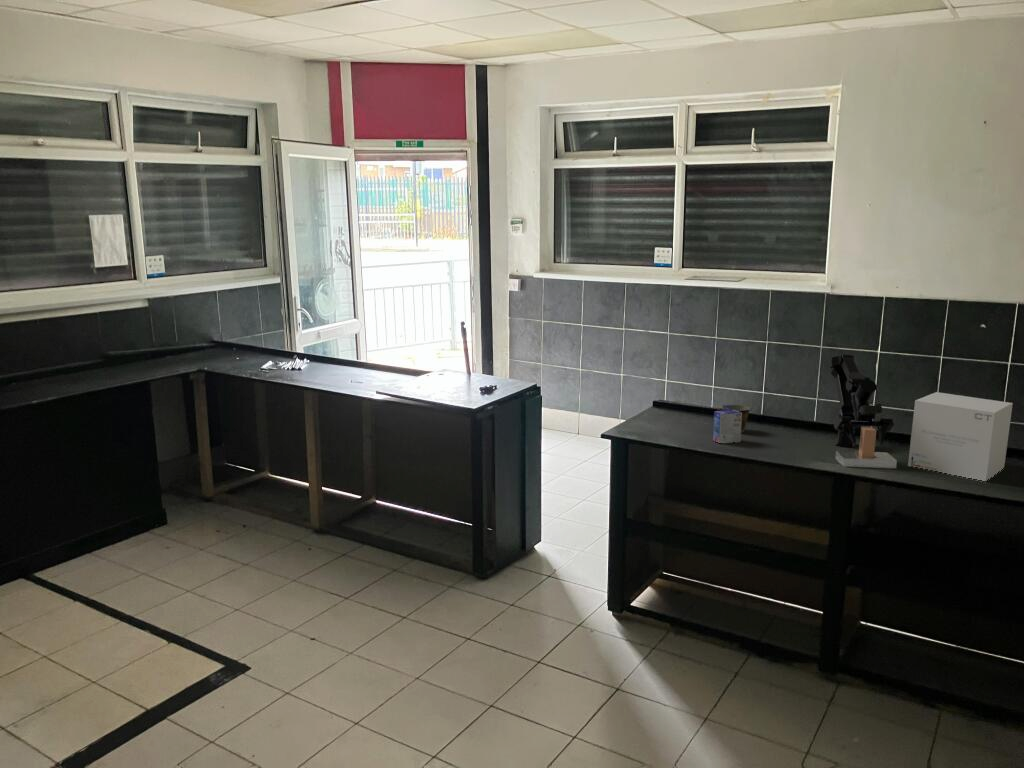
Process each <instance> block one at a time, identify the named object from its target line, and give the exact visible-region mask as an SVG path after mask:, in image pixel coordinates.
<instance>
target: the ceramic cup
mask: <svg viewBox="0 0 1024 768" xmlns="http://www.w3.org/2000/svg"><path fill="white" fill-rule="evenodd" d="M730 405H731V409H732V410H737V411H740V412H742V422H741V433H744V432H745V428H746V424H747V420H748V417H749V414H750V413H749V412H750V407H748V406H746V405H741V404H730ZM724 409H730V407H725V408H724ZM716 411H723V407H722V408H721V407H720V408H718V409H716Z"/></svg>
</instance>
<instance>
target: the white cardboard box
mask: <svg viewBox="0 0 1024 768" xmlns="http://www.w3.org/2000/svg"><path fill="white" fill-rule="evenodd" d="M1013 404H1014V403H1013V402H1008V401H1000V400H996V399H995V400H993V399H988V398H987V399H986V398H981V397H980V398H979V397H975V396H974V397H972V396H966V395H960V394H953V393H952V394H951V393H946V392H938V391H936V392H933V393H930V394H928V395H925V396H924V397H920V398H918V399H915V400H914V406H913V407H914V408H913V417H912V426H911V434H910V446H909V452H908V453H909V454H908V460H907V461H908V463H907V466H908V467H911V466H913V467H912V468H915V467H918V468H917V469H920V468H923V469H922V470H925V469H928V470H927V471H930V470H933V471H932V472H934V471H938V472H937V473H939V472H942V473H941V474H944V473H947V474H946V475H949V474H951V475H950V476H954V475H957V476H956V477H958V476H962V477H961V478H963V477H966V478H965V479H968V478H972V479H971V480H973V479H977V480H976V481H978V480H982V481H987V480H988V479H989V480H991V479H992V478H993V477H995V476H996V475H997V473H998V472H999V471H1000V472H1002V471H1003V470H1004V469H1005V465H1006V464H1005V463H1006V456H1007V449H1008V441H1009V434H1010V426H1011V419H1012V411H1013ZM1003 468H1004V469H1003ZM1002 469H1003V470H1002ZM1001 470H1002V471H1001ZM1000 472H999V473H1000ZM999 473H998V474H999ZM995 474H996V475H995ZM994 475H995V476H994ZM991 477H992V478H991ZM990 478H991V479H990ZM989 480H988V481H989ZM982 481H981V482H982ZM988 481H987V482H988Z"/></svg>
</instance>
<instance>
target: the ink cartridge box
mask: <svg viewBox="0 0 1024 768" xmlns="http://www.w3.org/2000/svg"><path fill="white" fill-rule="evenodd" d="M731 405H732V404H725V405H722V409H723V410H718V411H717V410H716V411H713V434H712V435H713V438H712V441H713V440H714V441H713V442H715V441H716V442H718V443H722V444H732V443H733V442H735V443H741V440H742V439H741V437H742V432H741V422H742V412H740V411H737V410H732V409H731ZM725 407H730V409H725ZM716 442H715V443H716ZM718 443H717V444H718Z"/></svg>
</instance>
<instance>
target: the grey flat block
mask: <svg viewBox="0 0 1024 768" xmlns="http://www.w3.org/2000/svg"><path fill="white" fill-rule="evenodd" d="M858 455H859V450H858V451H852V450H836V451H835V460H837V462H838V463H839V464H840V465H841V466H842V467H845V468H847V467H849V468H868V469H869V468H871V469H874V468H875V469H894V468H895V470H896V469H897V463H898V460H897V459H896V458H895V457H893V456H892V455H891V454H889V453H888V452H884V451H883V452H882V451H881V452H880V451H874V458H860V457H859V456H858Z"/></svg>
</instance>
